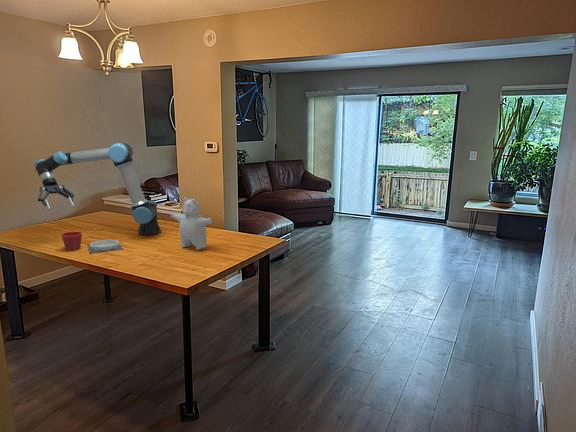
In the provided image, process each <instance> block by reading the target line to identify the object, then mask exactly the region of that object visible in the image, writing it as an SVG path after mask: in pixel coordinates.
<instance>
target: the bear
mask: <svg viewBox="0 0 576 432" xmlns="http://www.w3.org/2000/svg"><path fill="white" fill-rule="evenodd" d="M182 200H183V205H182V213H180V214H179V213H176V212H170V216H171V219H175V221H177V222H178V223H179V229H178V232H179V235H180V242H181V243H180V247H182V248H189V247H191V246H192V245H193V246H194V247H195V249H196V251H199V250H201V251H202V250H204V249H206V248H207V246H208V240H207V239H208V238H207V229H206V226H208V225H213V222H214V221H213V220H212V218H211V217H207V218H206V217H203V215H201V214H200V210H201V208H200V207H201V206H200V204H199V202H198V201H197V200H196V199H195V198H191V199H190V198H187V197H184V198H183V199H182Z"/></svg>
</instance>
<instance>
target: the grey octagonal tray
mask: <svg viewBox="0 0 576 432" xmlns="http://www.w3.org/2000/svg"><path fill="white" fill-rule="evenodd" d="M87 248H88V252H89V254H97V253H98V254H99V253H106V252H114V251H122V250H124V248H123V246H122V245H121V244H120V242H119V240H117V239H103V240H96V241H94V242H91V243H89V244H87Z"/></svg>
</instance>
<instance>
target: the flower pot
mask: <svg viewBox="0 0 576 432" xmlns="http://www.w3.org/2000/svg"><path fill="white" fill-rule="evenodd" d="M82 236H83V233H82V232H81V231H67V232H63V233H61V238H62V242H63V244H64V248H65V250H66V251H70V252H71V251H79V250H80V249H81V247H82V246H81V244H82Z"/></svg>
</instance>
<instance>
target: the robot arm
mask: <svg viewBox="0 0 576 432" xmlns="http://www.w3.org/2000/svg"><path fill="white" fill-rule="evenodd" d="M133 153H134V151H133V149H132V146H131V145H129V144H128V143H125V142H118V143H114V144H112V145H111V146H110V147H104V148H96V149H89V150H87V149H86V150H81V151H73V152H63V151H57V152H55V153H53V154H52V155H51V156H49V157H48V158H46V159H44V158H40V159H37V160H36V161H34V168H35V170H36V172H37V174H38V176H39V180H40V181H41V184H42V186H40V187H39V194H38V199H37V202H41V203H42V204H43V206H45V208H46V209H47V211H50V209H51V207H50V204H49V202H48V200H47V197H48V196H49V195H50V194H51V195H52V194H58V195H61V196H63V197H64V198H66V199H67V201H68V204H69V205H70V208H74V206H75V205H74V200H73V198H74V197H75V194H74V193H72V192H71V191H70V190H69V189H68V188H66V186H65V185H64V184H62V185H58V182H57V180H56V177H55V175H54V174H53V171H54V170H55V169H57V168H59V167H62V166H68V165H74V164H75V165H76V164H83V163H89V162H90V163H91V162H97V161H99V162H100V161H106V160H107V161H108V160H111V161H112V163H113V165H114V167H115V168H117V169H118V171H119V174H120V175H121V178H122V181H123V183H124V186H125V188H126V191H127V193H128V196H129V198H130V202H131V207H130V208H131V210H132V218H133V220H134V221H135V222H136V223H137V224H139V225H138V230H137V233H138V235H141V236H153V235H154V236H155V235H159V234H160V233H161V230H162V229H161V227H160V225H159V222H158V205H157V201H156V200H148V199H146V197H145V195H144V193H143V189H142V187H141V185H140V182H139V179H138V177H137V174H136V171H135V169H134V166H133V163H134V160H133V158H132V157H133ZM44 191H45V192H46V193H44V196H43V192H44Z"/></svg>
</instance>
